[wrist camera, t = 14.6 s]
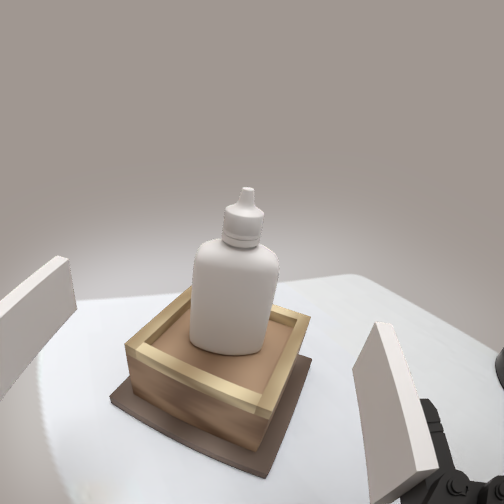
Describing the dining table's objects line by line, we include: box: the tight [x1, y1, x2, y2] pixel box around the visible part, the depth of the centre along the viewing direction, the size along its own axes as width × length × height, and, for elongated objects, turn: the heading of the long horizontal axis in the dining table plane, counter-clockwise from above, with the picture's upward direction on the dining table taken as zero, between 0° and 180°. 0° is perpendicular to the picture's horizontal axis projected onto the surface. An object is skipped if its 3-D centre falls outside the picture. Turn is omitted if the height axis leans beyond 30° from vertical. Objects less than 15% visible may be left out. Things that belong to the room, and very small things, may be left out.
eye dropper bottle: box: [189, 187, 279, 355], centre depth 21 cm, size 4×6×12 cm
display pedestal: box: [109, 286, 312, 479], centre depth 24 cm, size 14×14×7 cm
